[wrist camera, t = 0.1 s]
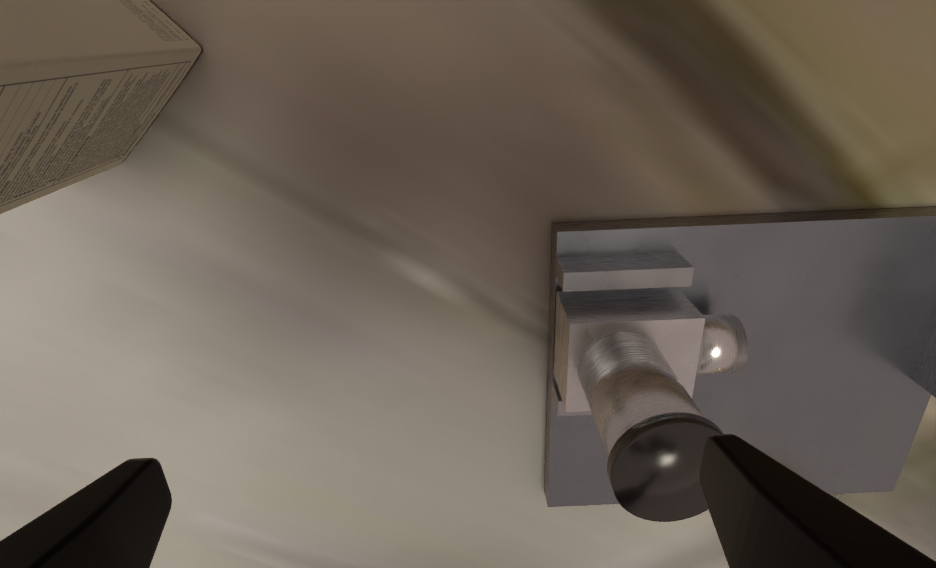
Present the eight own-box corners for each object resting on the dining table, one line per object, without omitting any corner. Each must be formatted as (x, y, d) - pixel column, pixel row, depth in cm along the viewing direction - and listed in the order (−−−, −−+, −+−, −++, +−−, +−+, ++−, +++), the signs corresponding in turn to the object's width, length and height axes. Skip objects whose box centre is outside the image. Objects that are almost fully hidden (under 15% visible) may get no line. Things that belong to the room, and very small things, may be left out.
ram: (709, 365, 24) (830, 518, 16) (553, 372, 24) (600, 529, 16) (724, 284, 22) (867, 412, 14) (556, 291, 22) (610, 423, 14)
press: (876, 474, 29) (967, 566, 24) (544, 489, 29) (563, 585, 24) (976, 204, 22) (1129, 252, 17) (552, 222, 22) (581, 276, 17)
